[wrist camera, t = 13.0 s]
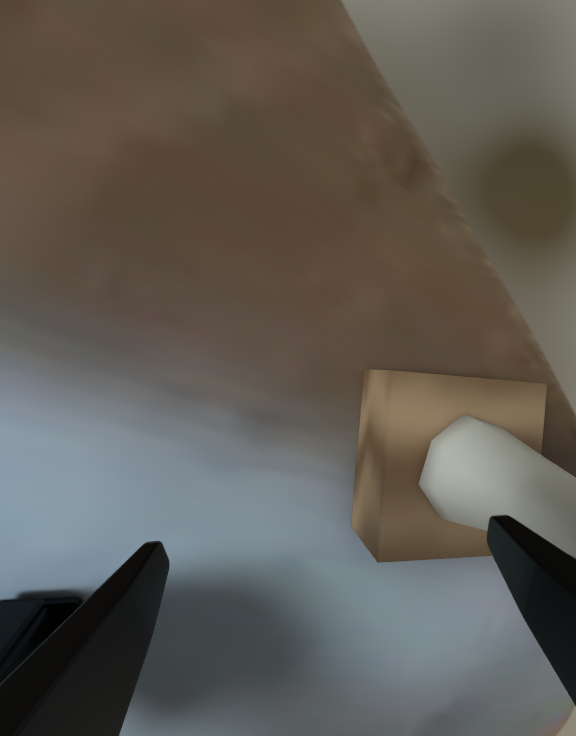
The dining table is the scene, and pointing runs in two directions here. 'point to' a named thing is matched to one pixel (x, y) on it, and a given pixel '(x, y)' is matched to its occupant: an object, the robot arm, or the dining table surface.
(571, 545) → the flask
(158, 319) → the dining table surface
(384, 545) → the light brown square board
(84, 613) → the robot arm
